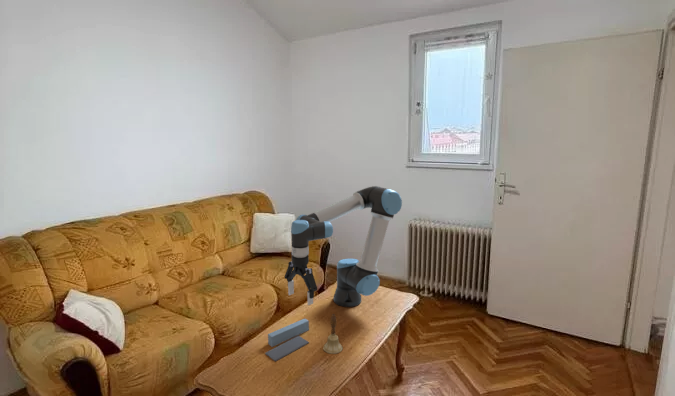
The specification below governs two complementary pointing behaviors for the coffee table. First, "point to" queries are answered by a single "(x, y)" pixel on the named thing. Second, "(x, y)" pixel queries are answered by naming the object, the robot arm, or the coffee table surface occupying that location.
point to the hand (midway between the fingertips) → (300, 299)
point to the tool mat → (286, 348)
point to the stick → (288, 332)
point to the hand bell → (333, 339)
